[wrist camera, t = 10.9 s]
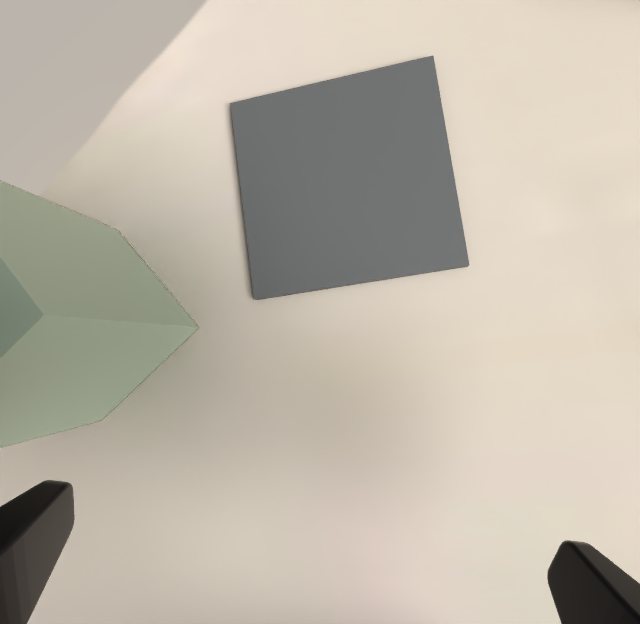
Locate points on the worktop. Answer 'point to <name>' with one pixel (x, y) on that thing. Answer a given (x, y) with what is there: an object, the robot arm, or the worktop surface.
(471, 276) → the worktop surface
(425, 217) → the mat
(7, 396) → the cover
